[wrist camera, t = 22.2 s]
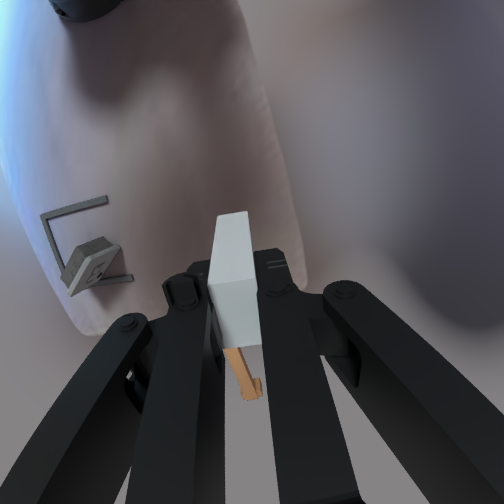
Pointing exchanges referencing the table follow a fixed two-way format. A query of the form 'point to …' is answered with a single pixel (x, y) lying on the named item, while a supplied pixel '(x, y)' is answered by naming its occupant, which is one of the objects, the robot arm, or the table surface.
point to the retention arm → (243, 374)
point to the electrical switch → (88, 264)
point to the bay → (55, 249)
